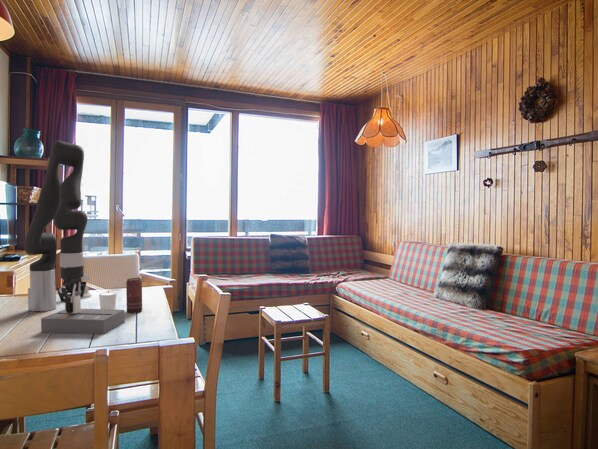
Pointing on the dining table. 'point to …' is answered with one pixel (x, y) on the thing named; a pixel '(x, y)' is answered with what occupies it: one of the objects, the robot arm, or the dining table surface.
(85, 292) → the chess piece
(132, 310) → the can
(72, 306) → the robot arm
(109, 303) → the white cylinder
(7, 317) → the dining table surface
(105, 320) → the slider control panel
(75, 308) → the fader knob
